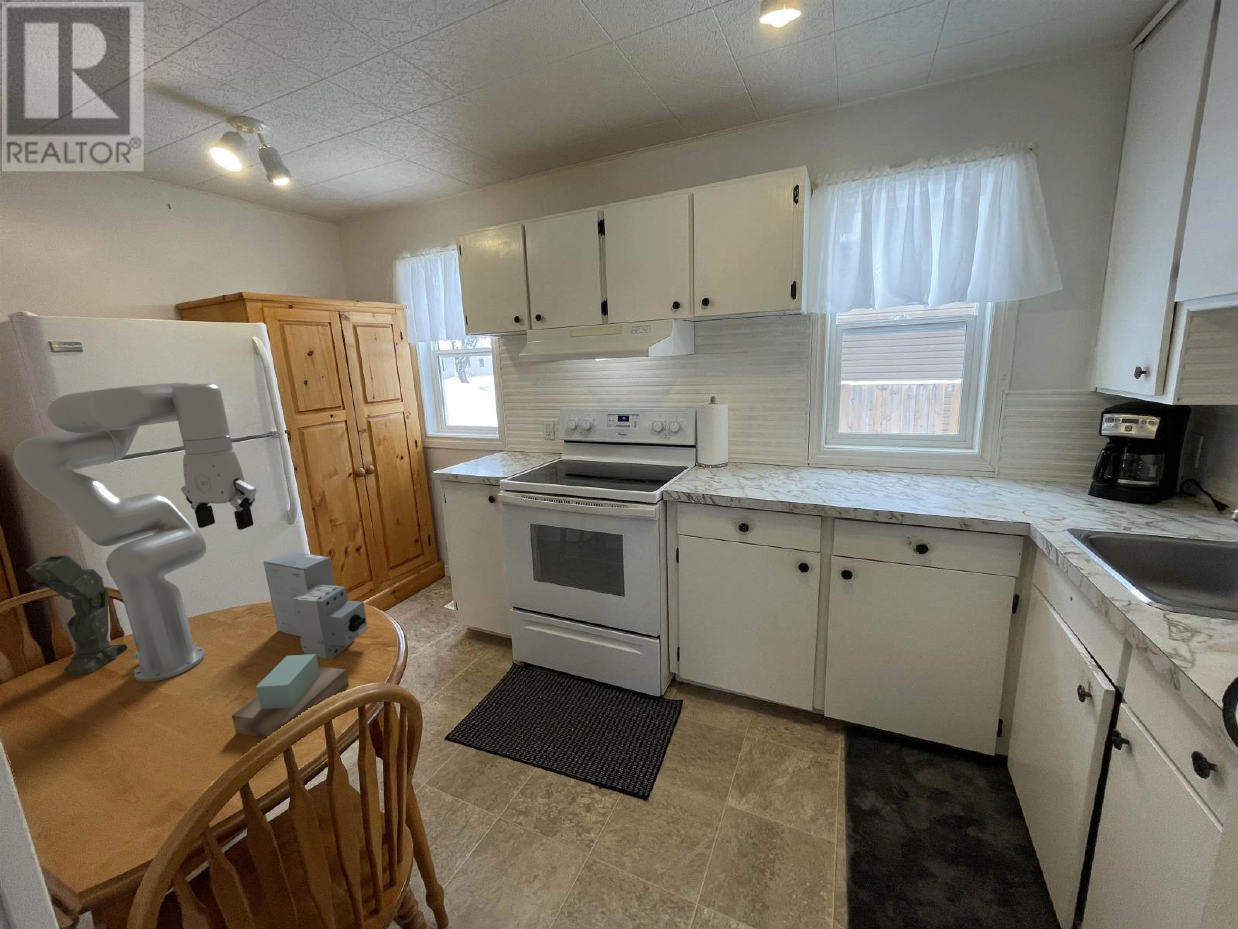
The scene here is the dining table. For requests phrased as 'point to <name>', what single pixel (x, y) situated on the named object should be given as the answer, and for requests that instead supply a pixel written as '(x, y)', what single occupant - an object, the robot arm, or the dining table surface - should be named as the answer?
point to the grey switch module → (294, 584)
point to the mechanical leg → (80, 610)
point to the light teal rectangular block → (288, 681)
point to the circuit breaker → (329, 620)
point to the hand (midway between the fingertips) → (226, 526)
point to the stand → (271, 720)
